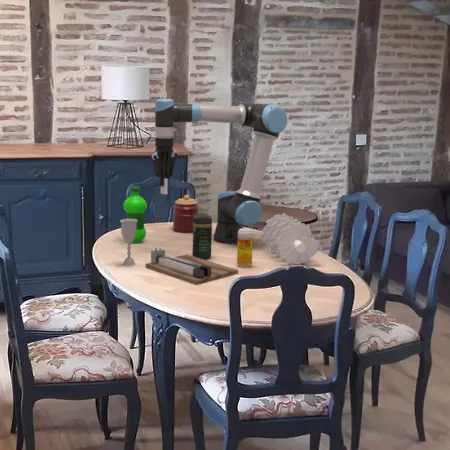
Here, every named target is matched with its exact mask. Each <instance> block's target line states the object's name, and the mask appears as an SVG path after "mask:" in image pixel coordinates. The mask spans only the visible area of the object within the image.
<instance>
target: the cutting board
mask: <svg viewBox="0 0 450 450" xmlns="http://www.w3.org/2000/svg"><path fill="white" fill-rule="evenodd" d="M174 257H175V258H179V259H182V260H186V261H190V262H193V263H197V264H201V265H204V266H208V267H211V275H210V276H205V275H204V278H202V279H199V278H196V277H193V276H190V275H187V274H184V273H181V272H177V271H174V270H171V269H168V268H165V267H162V266H159V264H156V265H155V264H152V263H151V262H148V263H145V268H146V269H148V270H149V269H150V270H152V271H154V272H157V273H161V274H164V275H167V276H170V277H173V278H175V279H178V280H181V281H184V282H188V283H191V284H193V285H201V284H206V283H208V282H212V281H216V280H219V279H223V278H227V277H231V276H234V275H237V274H239V269H237V268H234V267H231V266H230V267H229V266H227V265H223V264H220V263H216V262H215V261H214V262H213V261H210V260H208V259H207V260H206V259H200V258H197V257H194V256H193V255H189V254H183V255H179V256H178V255H177V256H174Z"/></svg>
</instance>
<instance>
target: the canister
mask: <svg viewBox="0 0 450 450" xmlns="http://www.w3.org/2000/svg"><path fill="white" fill-rule="evenodd" d="M174 203H175V204H174V205H173V206H172V208H173V213H172V215H173V216H172V217H173V219H172V220H173V221H172V222H173V224H172V230H173V231H174V232H176V233H181V234H182V233H183V234H184V233H185V234H188V233H189V234H190V233H191V234H193V216H194V215H196V214H197V213H200V212H199V209H200V206H199V204H198V203H199V201H198V200H196V199H194V198H190V196H189V195H188V194H184V195H183V198H178V199H177V200H175V201H174Z"/></svg>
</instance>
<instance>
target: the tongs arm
mask: <svg viewBox="0 0 450 450" xmlns="http://www.w3.org/2000/svg"><path fill="white" fill-rule="evenodd" d="M175 257H176V256H171V255H166V254H165V256H164V258H167V259H170V260H173V261H176V262H180V263H183V264H186V265H189V266H192V267H196V268H199V269H202V270H204V275H205V276H210V275H211V267H208V266H204V265H201V264H197V263H193V262H190V261H186V260H182V259H179V258H175Z"/></svg>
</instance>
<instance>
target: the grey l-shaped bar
mask: <svg viewBox="0 0 450 450" xmlns="http://www.w3.org/2000/svg"><path fill="white" fill-rule="evenodd" d="M164 256H166V250H165V249H162V248H160V247H156V248H155V249H154V250H151V251H150V263H152V264H155V265H156V264H159V266H162V267H165V268H168V269H171V270H174V271H177V272H181V273H184V274H187V275H190V276H193V277H196V278H199V279H202V278H204V270H202V269H199V268H196V267H192V266H189V265H186V264H183V263H180V262H176V261H173V260H170V259H167V258H164Z"/></svg>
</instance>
